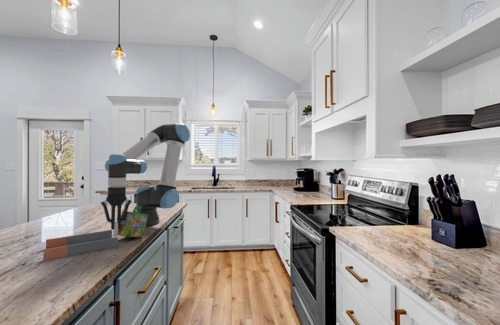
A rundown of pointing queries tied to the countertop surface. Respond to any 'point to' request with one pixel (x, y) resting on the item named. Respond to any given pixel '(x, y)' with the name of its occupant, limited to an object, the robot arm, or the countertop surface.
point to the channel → (79, 244)
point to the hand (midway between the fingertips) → (115, 235)
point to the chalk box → (133, 224)
